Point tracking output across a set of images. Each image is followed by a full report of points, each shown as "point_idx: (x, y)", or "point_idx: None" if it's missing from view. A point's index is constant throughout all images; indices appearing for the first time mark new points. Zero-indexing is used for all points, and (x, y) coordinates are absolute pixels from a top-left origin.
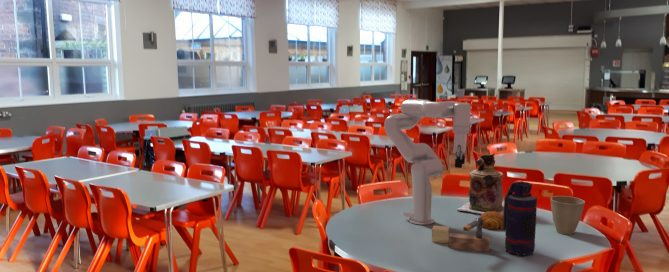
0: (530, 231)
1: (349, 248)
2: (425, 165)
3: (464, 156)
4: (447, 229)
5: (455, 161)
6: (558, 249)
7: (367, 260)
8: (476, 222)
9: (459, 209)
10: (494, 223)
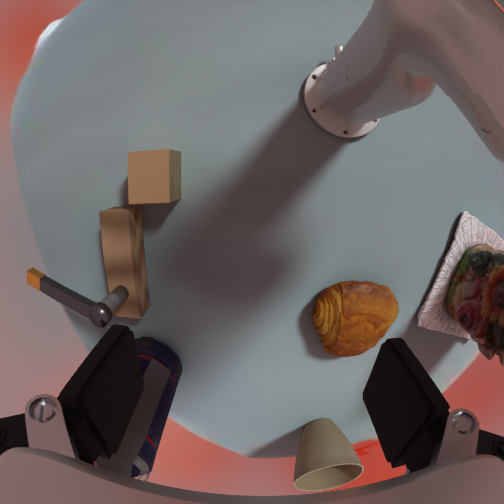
0: None
1: (73, 19)
2: (439, 10)
3: (392, 461)
4: (138, 201)
5: (80, 372)
6: (205, 414)
7: (25, 79)
8: (71, 306)
9: (460, 218)
10: (317, 326)
